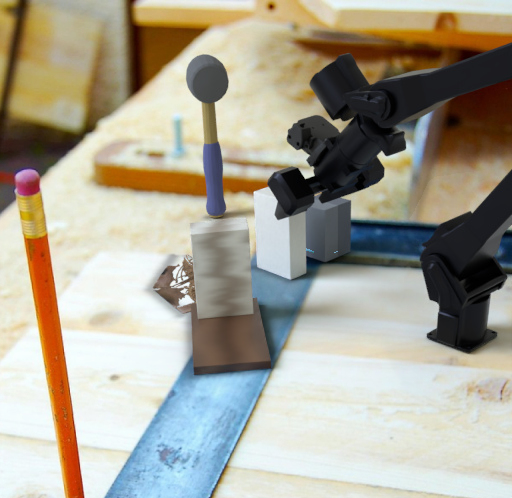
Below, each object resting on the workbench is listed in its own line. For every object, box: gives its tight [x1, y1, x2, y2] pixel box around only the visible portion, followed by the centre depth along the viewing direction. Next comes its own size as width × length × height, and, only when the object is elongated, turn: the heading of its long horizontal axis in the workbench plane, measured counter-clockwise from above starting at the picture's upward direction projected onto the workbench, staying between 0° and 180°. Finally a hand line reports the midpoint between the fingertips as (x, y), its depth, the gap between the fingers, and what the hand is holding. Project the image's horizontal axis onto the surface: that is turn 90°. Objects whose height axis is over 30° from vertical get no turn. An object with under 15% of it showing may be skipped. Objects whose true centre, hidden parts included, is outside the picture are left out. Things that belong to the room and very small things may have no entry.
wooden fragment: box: [152, 253, 197, 315], centre depth 127 cm, size 26×11×1 cm, turn 178°
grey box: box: [305, 193, 352, 263], centre depth 128 cm, size 6×6×9 cm
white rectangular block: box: [253, 186, 307, 281], centre depth 122 cm, size 8×4×13 cm, turn 35°
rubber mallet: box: [185, 53, 230, 219], centre depth 145 cm, size 12×8×30 cm, turn 2°
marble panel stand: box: [189, 216, 272, 376], centre depth 104 cm, size 10×19×14 cm, turn 179°
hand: (299, 209), depth 117 cm, fingers open, 9 cm apart
